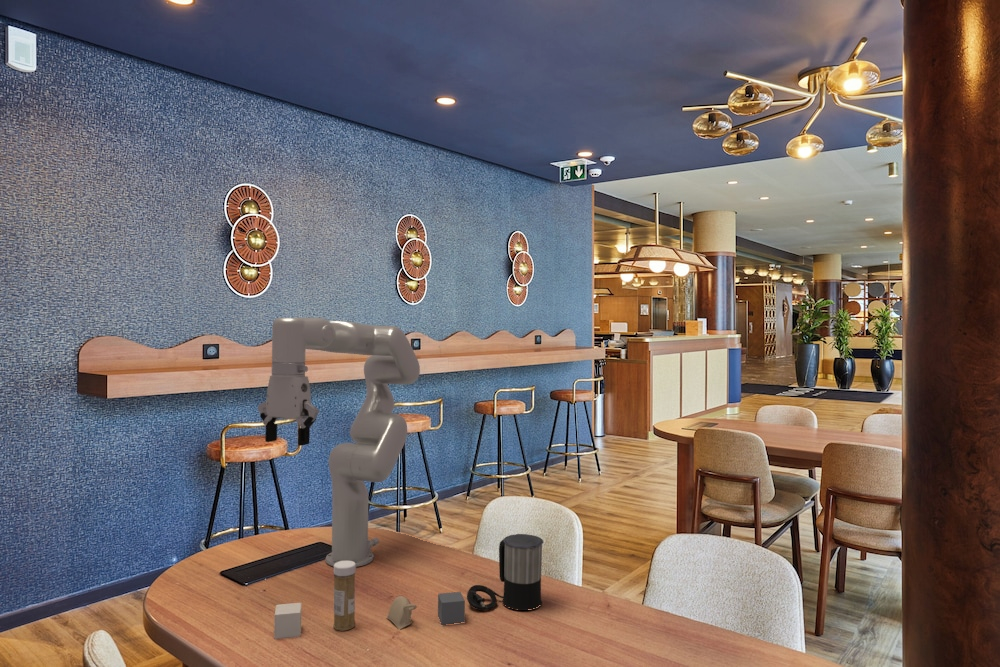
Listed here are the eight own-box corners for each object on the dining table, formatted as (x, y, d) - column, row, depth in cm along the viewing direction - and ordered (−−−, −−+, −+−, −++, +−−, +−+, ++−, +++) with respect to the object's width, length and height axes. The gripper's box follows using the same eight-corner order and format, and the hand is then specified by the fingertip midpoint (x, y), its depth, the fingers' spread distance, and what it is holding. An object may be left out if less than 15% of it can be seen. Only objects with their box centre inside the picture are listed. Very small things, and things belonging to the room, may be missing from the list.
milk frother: (550, 603, 154) (551, 539, 154) (504, 625, 143) (505, 556, 142) (505, 586, 164) (506, 526, 164) (458, 606, 152) (459, 541, 152)
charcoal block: (437, 616, 147) (438, 593, 147) (460, 614, 148) (460, 591, 148) (441, 626, 142) (441, 602, 142) (464, 623, 143) (464, 600, 143)
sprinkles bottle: (358, 628, 140) (359, 564, 140) (337, 633, 138) (338, 568, 138) (350, 620, 144) (351, 558, 144) (329, 625, 142) (330, 562, 142)
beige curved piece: (403, 613, 148) (403, 589, 148) (419, 628, 141) (419, 603, 141) (385, 617, 146) (386, 593, 146) (401, 633, 139) (401, 607, 139)
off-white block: (276, 628, 140) (276, 604, 140) (301, 626, 141) (301, 602, 141) (274, 639, 135) (274, 614, 135) (300, 636, 136) (300, 612, 136)
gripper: (328, 371, 157) (327, 443, 157) (271, 368, 164) (270, 437, 164) (307, 372, 150) (305, 448, 150) (248, 369, 157) (247, 442, 157)
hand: (287, 442), depth 157 cm, fingers open, 9 cm apart
